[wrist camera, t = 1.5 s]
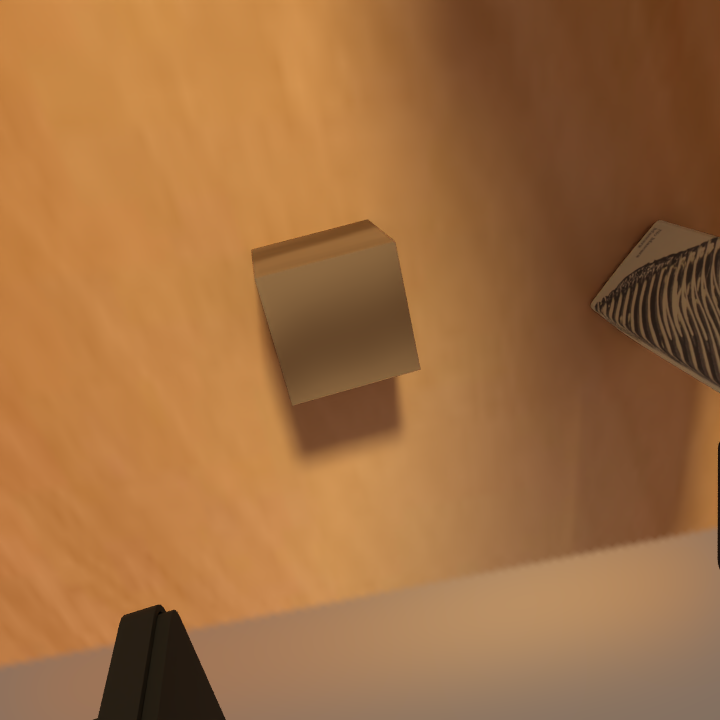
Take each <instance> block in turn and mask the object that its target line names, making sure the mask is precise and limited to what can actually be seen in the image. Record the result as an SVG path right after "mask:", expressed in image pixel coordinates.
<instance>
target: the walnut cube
mask: <svg viewBox="0 0 720 720" xmlns="http://www.w3.org/2000/svg"><path fill="white" fill-rule="evenodd" d="M251 251H252V261H253V270H254V279H255V282H256V285H257V289H258V292H259V295H260V299H261V302H262V305H263V309H264V312H265V316H266V319H267V322H268V326H269V329H270V332H271V336H272V339H273V342H274V346H275V349H276V352H277V356H278V359H279V363H280V366H281V369H282V373H283V376H284V379H285V383H286V386H287V389H288V393H289V396H290V400H291V403H292V406H293V405H297V404H301V403H304V402H308V401H311V400H315V399H318V398H322V397H325V396H329V395H332V394H336V393H339V392H343V391H347V390H350V389H354V388H357V387H361V386H364V385H368V384H371V383H375V382H378V381H382V380H385V379H389V378H392V377H396V376H400V375H403V374H407V373H410V372H414V371H417V370H421V369H420V364H419V359H418V354H417V349H416V344H415V339H414V334H413V329H412V324H411V319H410V314H409V309H408V304H407V299H406V294H405V289H404V284H403V278H402V273H401V268H400V263H399V258H398V253H397V248H396V243H395V241H394V240H393V239H392V238H390V237H389V236H388V235H387V234H385V233H384V232H383V231H382V230H380V229H379V228H378V227H377V226H375V225H374V224H373V223H372V222H370V221H369V220H364V221H360V222H356V223H352V224H348V225H345V226H341V227H337V228H333V229H329V230H325V231H322V232H318V233H314V234H310V235H306V236H302V237H298V238H295V239H291V240H287V241H283V242H279V243H275V244H272V245H268V246H264V247H260V248H256V249H252V250H251Z"/></svg>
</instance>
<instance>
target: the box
mask: <svg viewBox="0 0 720 720" xmlns="http://www.w3.org/2000/svg"><path fill="white" fill-rule="evenodd" d="M591 308H592V309H593V310H594V311H596V312H597V313H598V314H599V315H601V316H602V317H603V318H604V319H606V320H607V321H608V322H610V323H611V324H612V325H613V326H615V327H616V328H617V329H619V330H620V331H621V332H623V333H624V334H626V335H627V336H628V337H630V338H631V339H633V340H634V341H636V342H637V343H639V344H640V345H642V346H644V347H645V348H647V349H648V350H650V351H652V352H653V353H655V354H657V355H658V356H660V357H661V358H663V359H665V360H666V361H668V362H669V363H671V364H673V365H674V366H676V367H678V368H679V369H681V370H683V371H684V372H686V373H688V374H689V375H691V376H693V377H694V378H696V379H697V380H699V381H701V382H702V383H704V384H706V385H707V386H709V387H711V388H712V389H714V390H716V391H717V392H719V393H720V237H717V236H714V235H710V234H707V233H703V232H700V231H697V230H693V229H690V228H686V227H683V226H679V225H676V224H672V223H669V222H666V221H662V220H658V221H657V222H656V223H655V224H654V225H653V226H652V227H651V228H650V229H649V231H648V232H647V233H646V234H645V235H644V237H643V238H642V239H641V240H640V241H639V243H638V244H637V245H636V246H635V247H634V249H633V250H632V251H631V252H630V253H629V255H628V256H627V257H626V258H625V260H624V261H623V262H622V263H621V265H620V266H619V267H618V268H617V270H616V271H615V272H614V273H613V275H612V276H611V277H610V279H609V280H608V281H607V283H606V284H605V285H604V287H603V288H602V289H601V291H600V292H599V293H598V294H597V296H596V297H595V298H594V300H593V301H592V303H591Z"/></svg>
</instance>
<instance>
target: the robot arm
mask: <svg viewBox="0 0 720 720" xmlns="http://www.w3.org/2000/svg"><path fill="white" fill-rule="evenodd" d="M718 565H719V568H720V442H719V445H718ZM94 720H226V719H225V717H224V715H223V713H222V711H221V708H220V706H219V704H218V701H217V699H216V697H215V695H214V692H213V690H212V688H211V686H210V684H209V681H208V679H207V677H206V674H205V672H204V670H203V668H202V666H201V663H200V661H199V659H198V656H197V654H196V652H195V650H194V647H193V645H192V643H191V641H190V638H189V636H188V634H187V632H186V629H185V627H184V625H183V623H182V620H181V618H180V616H179V614H178V612H177V611H176V610H172V611H168V612H166V611H165V609H164V607H162V606H161V605H155V606H152V607H149V608H146V609H142V610H139V611H136V612H133V613H130V614H126V615H124V616H123V617H122V618H121V621H120V624H119V628H118V633H117V637H116V641H115V646H114V650H113V654H112V659H111V663H110V668H109V672H108V676H107V681H106V685H105V689H104V694H103V698H102V702H101V707H100V711H99V715H98V718H97V719H94Z"/></svg>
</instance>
